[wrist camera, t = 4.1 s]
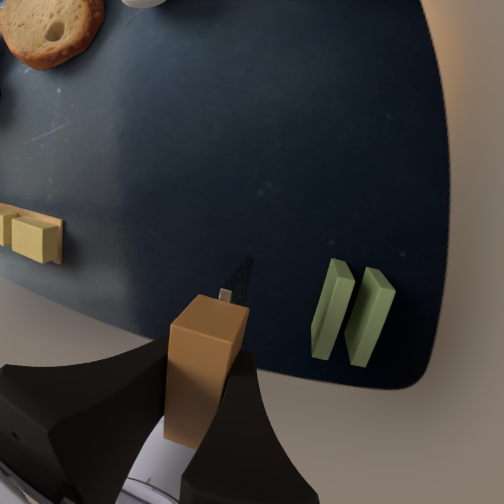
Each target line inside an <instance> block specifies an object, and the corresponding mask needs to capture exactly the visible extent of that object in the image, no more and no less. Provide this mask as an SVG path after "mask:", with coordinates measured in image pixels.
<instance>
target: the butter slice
mask: <svg viewBox="0 0 504 504" xmlns="http://www.w3.org/2000/svg"><path fill="white" fill-rule="evenodd" d="M14 218H18V213H16V212H13V211H3V212H0V245H2V246H6V245H10V244H12V219H14Z"/></svg>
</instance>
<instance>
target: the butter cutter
mask: <svg viewBox="0 0 504 504" xmlns="http://www.w3.org/2000/svg"><path fill="white" fill-rule="evenodd" d="M253 261H254V258H251V257H247V256H246V257H245V259H244V260H243V261H242V262H241V264H240V265H239V266H238V267H237V269H236V270H235V271H234V272H233V274H232V275H231V276H230V278H229V279H228V280H227V281H226V283H225V284H224V285H223V286H222V288H221V289H220V294H219V300H217V299H214V298H210V297H207V296H203V295H198V296H197V297H196V298H195V299H194V300H193V301H192V302H191V303H190V305H189V306H188V307H187V308H186V309H185V310H184V311H183V312H182V313H181V314H180V315H179V316H178V317H177V318H176V320H175V321H174V322H173V323H172V324H171V328H170V338H169V349H168V361H167V374H166V388H165V405H164V427H163V438H164V439H167V440H169V441H172V442H175V443H177V444H180V445H183V446H186V447H189V448H192V449H195V450H197V449H198V447H199V445H200V443H201V442H202V440H203V438H204V436H205V434H206V432H207V430H208V428H209V426H210V424H211V422H212V420H213V418H214V416H215V414H216V412H217V410H218V408H219V405H220V403H221V401H222V399H223V396H224V393H225V389H226V386H227V382H228V378H229V374H230V370H231V366H232V364H233V362H234V360H235V358H236V356H237V354H238V352H239V350H240V347H241V343H242V339H243V335H244V331H245V326H246V322H247V318H248V314H249V308H246V307H243V306H244V302H245V297H246V293H247V288H248V284H249V279H250V275H251V270H252V266H253Z"/></svg>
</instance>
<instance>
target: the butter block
mask: <svg viewBox="0 0 504 504" xmlns="http://www.w3.org/2000/svg"><path fill="white" fill-rule="evenodd" d="M12 250H13V251H15V252H17V253H19V254H22V255H24V256H26V257H28V258H31V259H33V260H35V261H37V262H40V263H42V264H44V263H46V262H49V261H52V260H54V259H57V258H58V225H54V224H51V223H48V222H45V221H41V220H38V219H35V218H32V217H28V216H23V217H19V218H14V219H12Z"/></svg>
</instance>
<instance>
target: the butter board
mask: <svg viewBox="0 0 504 504" xmlns="http://www.w3.org/2000/svg"><path fill="white" fill-rule="evenodd" d="M3 211H13V212H16V213H18V218H19V217H23V216H28V217H32V218H35V219H38V220H41V221H45V222H48V223H51V224H54V225H58V258H57V259H54V260H52V262H55V263H57V264H62V236H63V220H62V219H58V218H55V217H51V216H48V215H44V214H41V213H37V212H34V211H30V210H27V209H23V208H20V207H16V206H13V205H9V204H6V203H3V202H0V212H3Z"/></svg>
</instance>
